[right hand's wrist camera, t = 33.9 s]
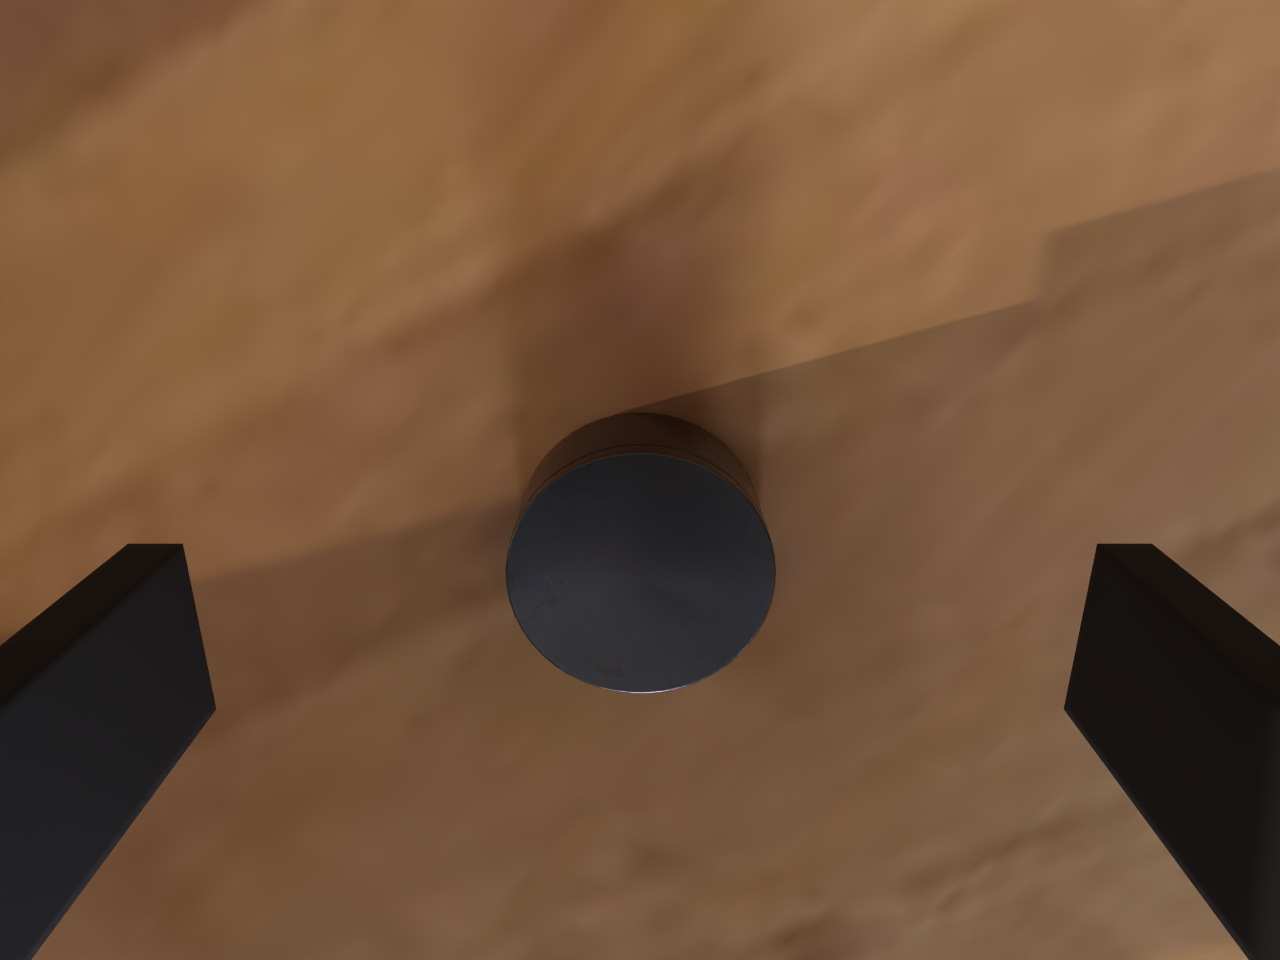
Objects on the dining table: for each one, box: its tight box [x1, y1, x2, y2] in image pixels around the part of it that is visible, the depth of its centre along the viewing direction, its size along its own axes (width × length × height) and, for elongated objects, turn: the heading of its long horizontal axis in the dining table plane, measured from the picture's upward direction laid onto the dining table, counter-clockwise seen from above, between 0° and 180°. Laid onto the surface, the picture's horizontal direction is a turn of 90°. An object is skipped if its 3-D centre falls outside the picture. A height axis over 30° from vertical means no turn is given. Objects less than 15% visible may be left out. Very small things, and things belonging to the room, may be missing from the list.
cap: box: [506, 413, 776, 693], centre depth 15 cm, size 4×4×2 cm
